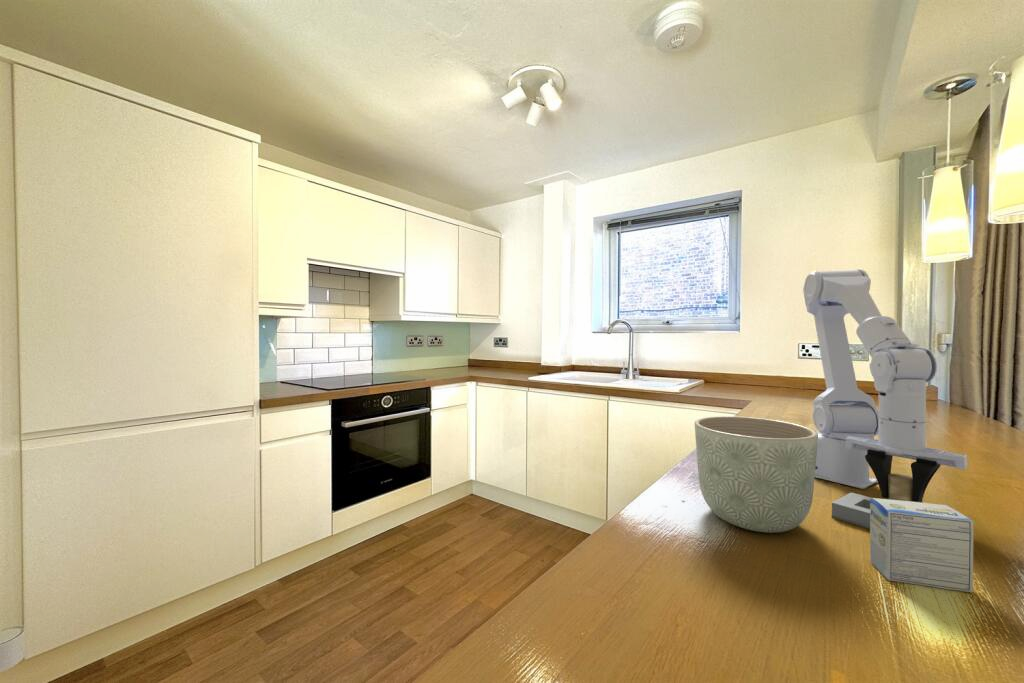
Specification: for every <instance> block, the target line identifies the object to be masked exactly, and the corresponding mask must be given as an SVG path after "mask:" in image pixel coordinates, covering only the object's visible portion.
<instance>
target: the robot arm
mask: <svg viewBox="0 0 1024 683" xmlns="http://www.w3.org/2000/svg"><path fill="white" fill-rule="evenodd" d="M802 288H803V289H802V291H803V292H802V293H803V297H804V302H805V306H806V312H807V313H809V314H811V315H813V319H814V325H815V331H816V336H817V342H818V347H819V354H820V357H821V358H820V359H821V364H822V370H823V375H824V382H825V387H826V390H825V391H823V392H822V393H820V394H818V395H817V396H816V397H815V398H814V399H813V402H812V403H813V413H812V419H813V420H812V421H813V424H814V427H815V429H816V430H817V431H818V432H817V433H818V446H817V456H816V467H815V479H821V480H823V481H824V480H826V481H828V482H829V481H830V482H834V483H836V484H841V485H846V486H848V487H849V486H850V487H852V488H853V487H854V488H857V489H860V490H861V489H862V490H863V489H864V490H865V489H867V488H868V487H870V486H872V485H873V484H875V483H877V484H878V486H879V490H880V495H881V498H882V499H888V474H892V464H893V457H897V458H903V459H909V460H913V462H912V463H910V469H911V475H912V476H911V477H912V479H913V492H912V502H921V503H923V500H924V495H925V493H926V489H927V488H928V485H929V484H930V482H931V480H932V478H933V477H934V475H935V474H936V473H937V471H938V470H939V469H940V467H941V466H946V467H947V466H948V467H952V468H955V469H957V470H962V471H963V470H966V469H967V468H968V455H967V454H962V453H961V454H960V453H955V452H950V451H945V450H942V449H937V448H932V447H927V383H928V382H931V381H932V380H933V379H934V378H935V376H936V375H937V374H936V373H937V371H938V364H937V359H936V357H935V355H934V353H933V352H932V350H930V349H929V348H927V347H923V346H922V347H921V346H920V345H919V344H918V343H912V341H911V340H910V338H908V336H907V335H906V333H905V332H904V331H903V330H902V328H901V327H900V325H899V324H898V323H897V322H896V320H895V319H894V318H893V317H890V316H887V315H882V314H881V312H880V310H879V308H878V306H877V304H876V303H875V301H874V299H873V298H872V296H871V294H870V289H871V278H870V277H869V274H868V273H867V271H865V270H864V269H855V270H832V271H831V270H829V271H827V270H825V271H824V270H823V271H818V270H813V271H811V272H809V273H808V275H807V276H806V278H805V281H804V285H803V287H802ZM848 314H850V316H851V318H853V319H854V320H855V321H856V323H857V324H858V326H857V328H856V332H855V333H856V335H857V337H858V339H859V340H860V342H861V343H862V345H863V346H864V349H865V350H866V351H867V353H868V354H869V357H870V358H871V359H870V360H871V361H870V363H869V371H870V374H871V376H872V379H873V383H874V384H873V385H874V386H873V387H874V388H875V389H874V390H875V391H876V392H877V391H878V407H877V406H876V404H875V399H874V398H873V397H872V396H870V395H869V394H867V393H865V392H864V391H863V390H861V389H859V388H858V383H857V378H856V373H855V369H854V365H853V358H852V353H851V348H850V344H849V338H848V335H847V329H846V324H845V316H847V315H848ZM876 436H878V439H877V438H876V439H875V437H876ZM870 470H872V473H873V475H874V476H875V478H874V477H870Z"/></svg>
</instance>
